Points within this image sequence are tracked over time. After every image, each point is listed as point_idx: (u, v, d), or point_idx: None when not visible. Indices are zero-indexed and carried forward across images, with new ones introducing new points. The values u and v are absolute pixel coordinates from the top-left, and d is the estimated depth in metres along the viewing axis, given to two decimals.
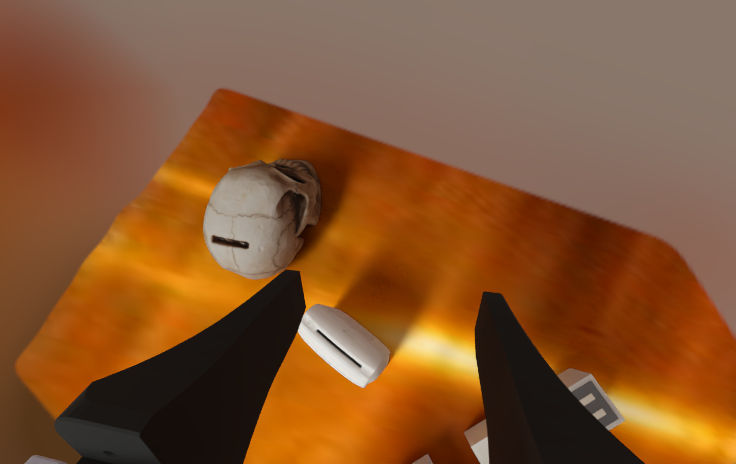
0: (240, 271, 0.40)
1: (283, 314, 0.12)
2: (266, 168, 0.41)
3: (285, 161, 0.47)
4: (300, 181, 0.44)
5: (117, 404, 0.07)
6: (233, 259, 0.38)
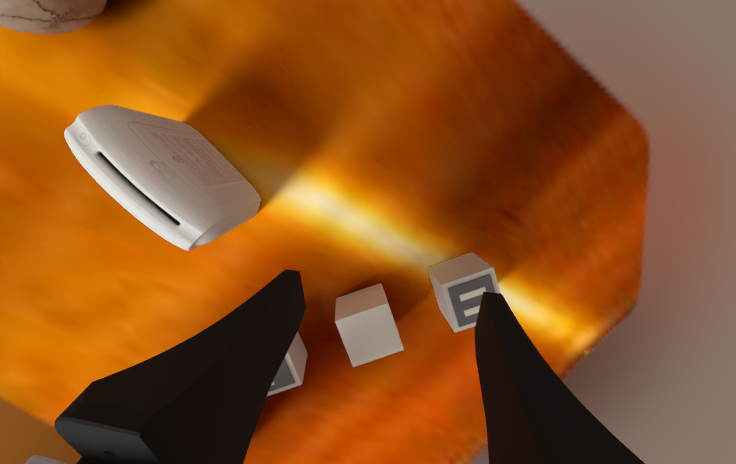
0: None
1: (283, 314, 0.12)
2: None
3: None
4: None
5: (117, 404, 0.07)
6: None
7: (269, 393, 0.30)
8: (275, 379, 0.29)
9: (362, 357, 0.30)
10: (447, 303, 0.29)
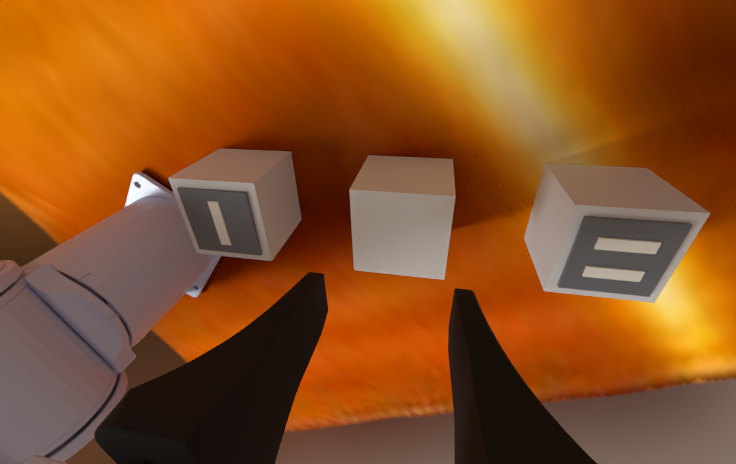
0: None
1: (309, 318, 0.12)
2: None
3: None
4: None
5: (160, 413, 0.06)
6: None
7: (223, 253, 0.20)
8: (233, 239, 0.19)
9: (374, 263, 0.18)
10: (564, 241, 0.15)
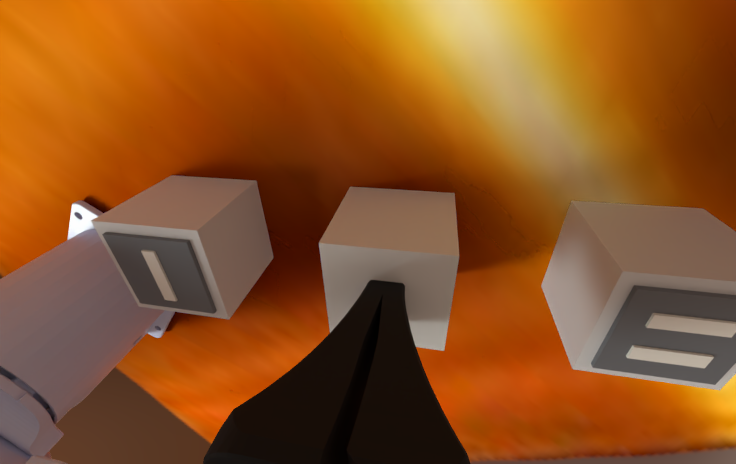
0: None
1: (378, 327, 0.11)
2: None
3: None
4: None
5: (277, 437, 0.06)
6: None
7: (170, 308, 0.16)
8: (179, 294, 0.15)
9: None
10: (604, 314, 0.11)
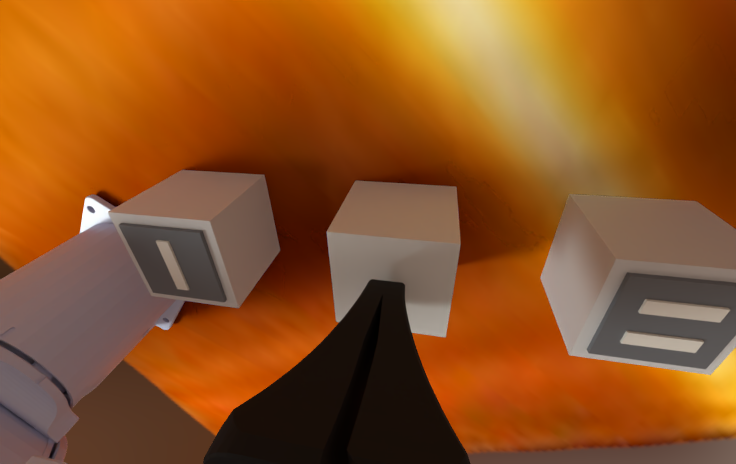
0: None
1: (378, 327, 0.11)
2: None
3: None
4: None
5: (277, 437, 0.06)
6: None
7: (182, 297, 0.16)
8: (191, 283, 0.15)
9: None
10: (599, 301, 0.12)
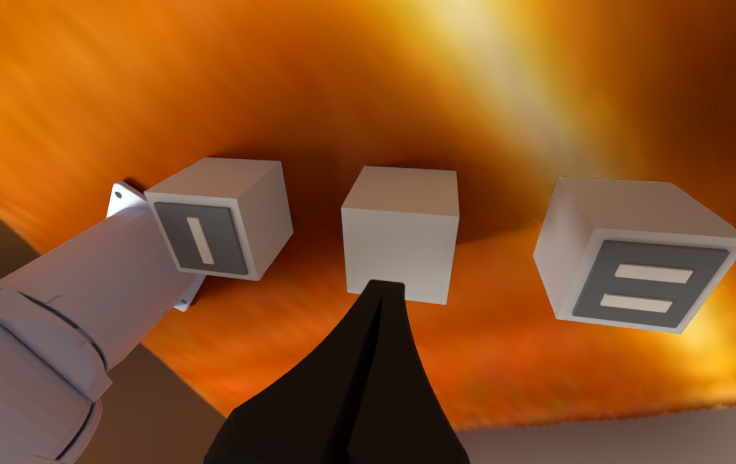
0: None
1: (378, 327, 0.11)
2: None
3: None
4: None
5: (277, 437, 0.06)
6: None
7: (206, 271, 0.18)
8: (216, 257, 0.17)
9: None
10: (580, 267, 0.13)
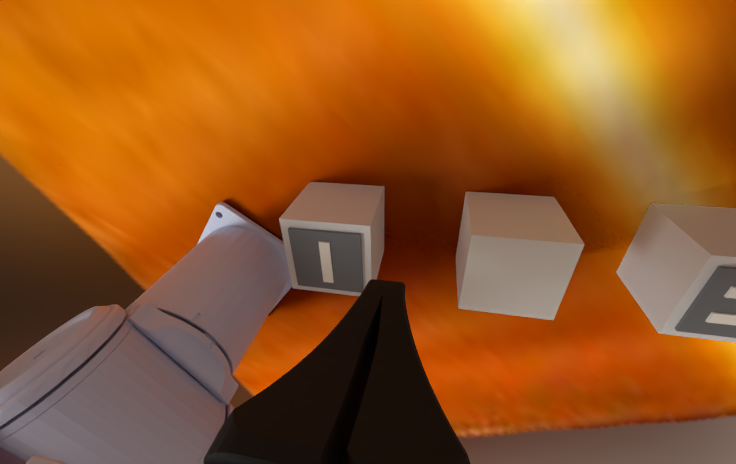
0: None
1: (378, 327, 0.11)
2: None
3: None
4: None
5: (277, 438, 0.06)
6: None
7: (321, 289, 0.20)
8: (337, 277, 0.19)
9: (482, 302, 0.18)
10: (691, 288, 0.15)
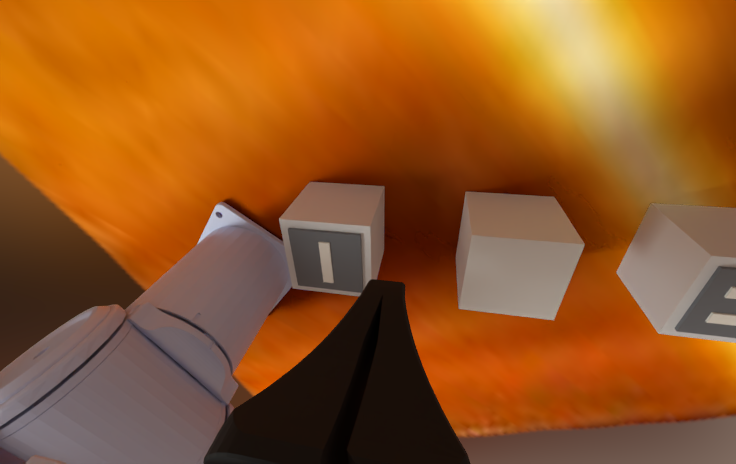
0: None
1: (378, 327, 0.11)
2: None
3: None
4: None
5: (277, 438, 0.06)
6: None
7: (321, 289, 0.20)
8: (337, 277, 0.19)
9: (482, 302, 0.18)
10: (691, 289, 0.15)
